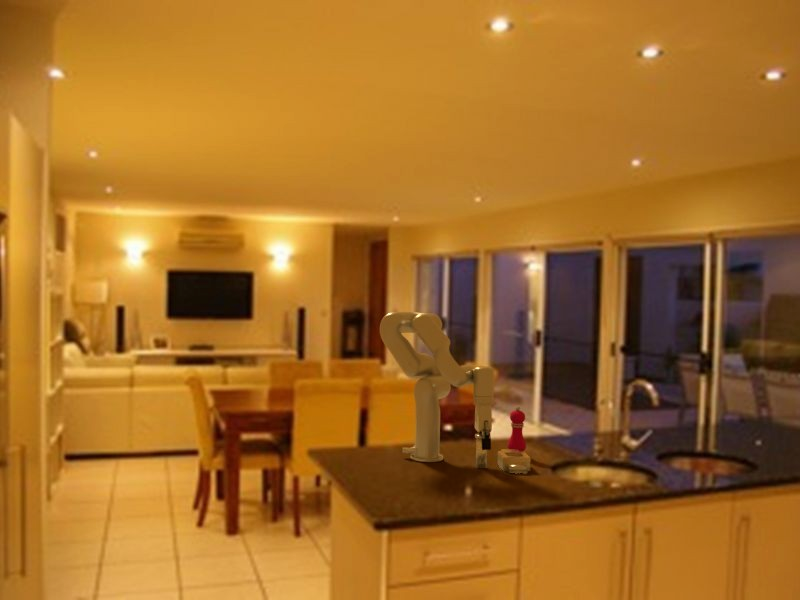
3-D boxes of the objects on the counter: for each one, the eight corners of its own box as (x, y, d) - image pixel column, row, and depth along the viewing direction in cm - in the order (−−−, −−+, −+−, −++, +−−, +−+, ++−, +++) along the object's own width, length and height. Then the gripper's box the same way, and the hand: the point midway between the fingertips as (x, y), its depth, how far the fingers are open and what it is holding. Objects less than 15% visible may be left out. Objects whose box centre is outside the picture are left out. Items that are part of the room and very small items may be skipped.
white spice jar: (475, 469, 250) (476, 436, 250) (473, 465, 255) (473, 433, 255) (489, 469, 250) (490, 436, 250) (487, 465, 256) (487, 433, 256)
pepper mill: (525, 459, 267) (527, 408, 267) (506, 458, 268) (508, 407, 268) (525, 455, 274) (527, 405, 274) (507, 454, 276) (509, 404, 275)
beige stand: (504, 473, 245) (505, 459, 245) (495, 462, 262) (496, 449, 262) (532, 474, 245) (532, 460, 245) (521, 462, 262) (521, 449, 262)
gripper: (470, 397, 261) (470, 442, 261) (477, 403, 244) (477, 452, 244) (489, 397, 261) (489, 442, 261) (498, 403, 244) (498, 451, 244)
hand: (484, 446), depth 252 cm, fingers open, 9 cm apart
